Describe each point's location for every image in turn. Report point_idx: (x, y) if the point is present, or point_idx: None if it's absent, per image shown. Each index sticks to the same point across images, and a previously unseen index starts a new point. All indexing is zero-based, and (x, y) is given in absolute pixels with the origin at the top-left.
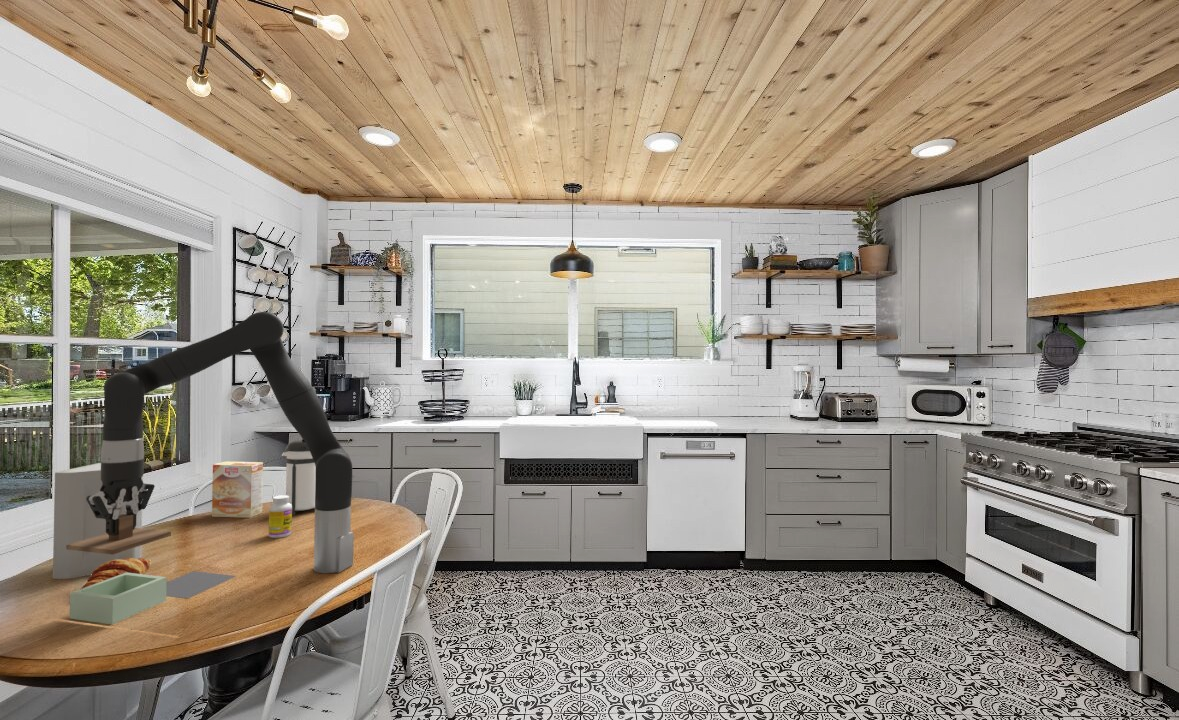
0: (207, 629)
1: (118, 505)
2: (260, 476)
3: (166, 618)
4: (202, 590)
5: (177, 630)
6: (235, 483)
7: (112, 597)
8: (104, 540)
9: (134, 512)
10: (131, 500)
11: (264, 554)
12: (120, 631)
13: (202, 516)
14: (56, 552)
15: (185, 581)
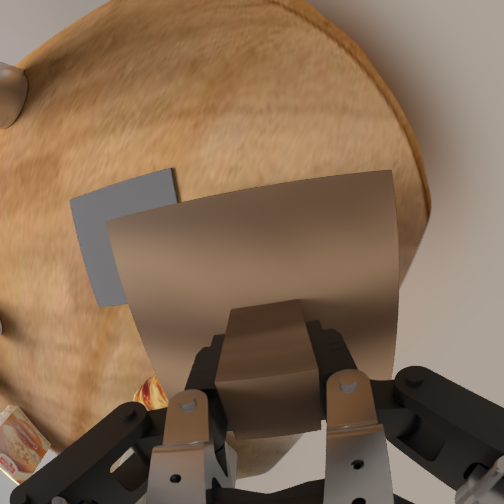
0: (241, 16)
1: (365, 446)
2: None
3: (244, 115)
4: (133, 183)
5: (267, 50)
6: (10, 450)
7: None
8: None
9: (199, 398)
10: (211, 485)
11: (16, 266)
12: (317, 141)
13: (59, 452)
14: (233, 482)
15: None
